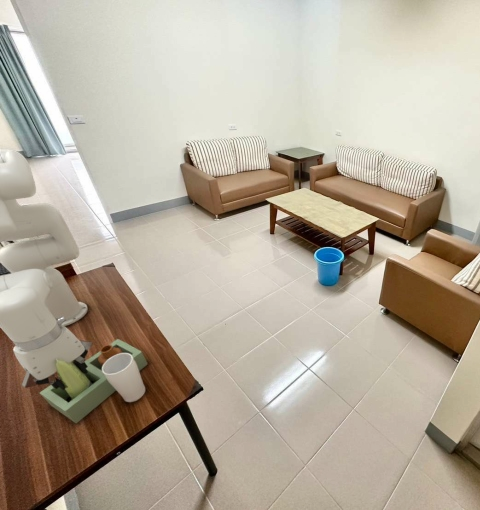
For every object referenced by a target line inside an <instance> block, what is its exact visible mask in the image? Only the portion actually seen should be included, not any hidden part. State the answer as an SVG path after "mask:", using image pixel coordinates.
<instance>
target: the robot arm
mask: <svg viewBox="0 0 480 510" xmlns="http://www.w3.org/2000/svg"><path fill="white" fill-rule="evenodd" d="M36 193H37V186H36V181H35V178H34V175H33V171H32V168H31V165H30V163H29V161H28V160H27V159H26V157H25V156H24V155H23V154H22V153H20V152H19V151H18V150H15V149H11V148H0V244H1V243H3V242H11V241H13V242H11V243H9V244H6V245H4V246H2V247H0V264H1V265H2V266H3V267H4V269H6V270H7V271H8V272H9V273H7V274H2V275H0V329H1V330H2V331H3V332H4V333H5V335H6V336H7V337H8V338H9V340H11V342H12V343H13V344H14V345H15V346H14V347H13V349H12V350H13V354H14V355H15V358H16V360H17V361H18V363H19V365H20V366H21V367H22V368H23V370H24V371H25V372H26V373H25V375H24V378H23V381H22V384H21V386H22V387H23V388H25V389H28V388H32V387H35V386H42V385H47V384H50V385H52V386H53V387H54V388H55V389H58V388H61V389H62V390H64V389H66V387H65V386H64V384H63V383H62V382H61V381H60V380H59V377H56V374H55V373H57V371H58V370H57V367H56V362H57V361H56V359H57V360H60V361H64V362H67V363H70V362H71V361H72V362H73V363H74V364H75V365H76V366H77V367H78V368H79V369H80V370H81V371H82V372H83V373H84V374H86V373H88V371H87V369H86V368H87V367H88V366H87V365H86V363H85V361H86V357H87V355H88V354H89V351H90V349H91V348H92V346H93V344H94V343H93V342H92V341H90V340H82V339H79V338H78V337H77V336H76V335H75V334H74V333H73V332H72V331H71V330H70V329H69V328H67V326H70V325H72V324H74V323H76V322H78V321H80V320H81V319H82V318H84V316H85V315H86V314H87V313H88V311H89V310H88V309H89V308H88V305H87V304H86V303H84V302H82V301H78V299H77V298H76V295H75V294H74V292H73V290H72V289H71V288H70V286H69V283H68V282H67V281H66V279H65V277H64V275H63V274H62V272H60V271H59V270H57V269H56V268H54V267H52V266H55V265H59V264H64V263H67V262H70V261H74V260H76V259H77V258H78V257H79V256H80V254H81V253H80V252H81V251H80V249H79V246H78V243H77V242H76V239H75V238H74V236H73V234H72V232H71V230H70V228H69V226H68V225H67V223H66V220H65V219H64V217H63V215H62V214H61V212H60V211H59V210H58V208H57V207H56V206H54V205H53V204H50V203H46V202H43V203H42V202H39V203H31V204H23V205H21V204H19V203H18V201H17V200H20V199H26V198H28V199H29V198H32V197H33V196H35V195H36ZM45 235H46V236H45ZM39 236H40V237H39ZM33 237H34V238H33ZM35 237H36V238H35ZM28 238H30V239H28ZM18 240H20V241H18ZM14 241H15V242H14Z"/></svg>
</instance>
